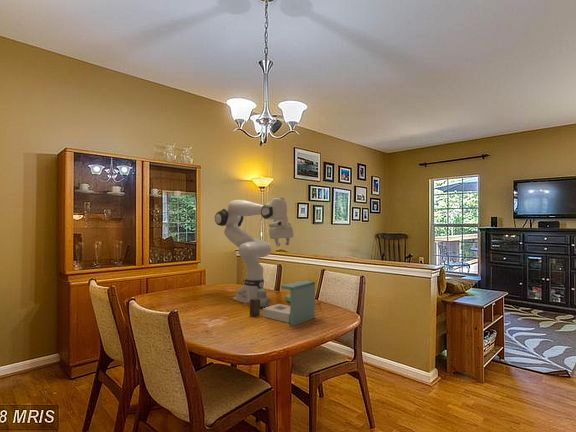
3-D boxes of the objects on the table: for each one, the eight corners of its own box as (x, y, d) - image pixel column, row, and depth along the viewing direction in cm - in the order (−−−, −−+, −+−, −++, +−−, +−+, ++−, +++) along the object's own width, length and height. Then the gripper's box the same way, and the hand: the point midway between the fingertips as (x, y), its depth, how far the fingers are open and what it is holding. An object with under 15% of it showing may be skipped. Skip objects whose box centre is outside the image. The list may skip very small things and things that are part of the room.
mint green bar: (285, 291, 228) (304, 299, 206) (293, 294, 231) (312, 301, 208) (282, 300, 227) (300, 308, 205) (290, 302, 229) (308, 311, 207)
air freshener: (258, 304, 218) (259, 288, 218) (270, 305, 215) (271, 289, 215) (251, 308, 208) (251, 291, 208) (264, 309, 205) (264, 292, 205)
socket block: (262, 316, 190) (262, 308, 190) (278, 311, 201) (278, 303, 201) (288, 322, 179) (288, 314, 179) (303, 316, 190) (303, 308, 190)
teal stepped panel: (280, 323, 178) (281, 285, 179) (302, 314, 194) (302, 280, 195) (293, 326, 174) (293, 287, 174) (314, 317, 190) (314, 282, 190)
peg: (249, 315, 192) (249, 299, 192) (254, 314, 195) (254, 298, 195) (255, 316, 189) (255, 300, 189) (259, 315, 192) (260, 299, 192)
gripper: (286, 223, 222) (288, 244, 221) (266, 223, 205) (268, 247, 204) (294, 222, 218) (296, 244, 217) (275, 222, 201) (276, 246, 201)
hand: (282, 245), depth 210 cm, fingers open, 8 cm apart
